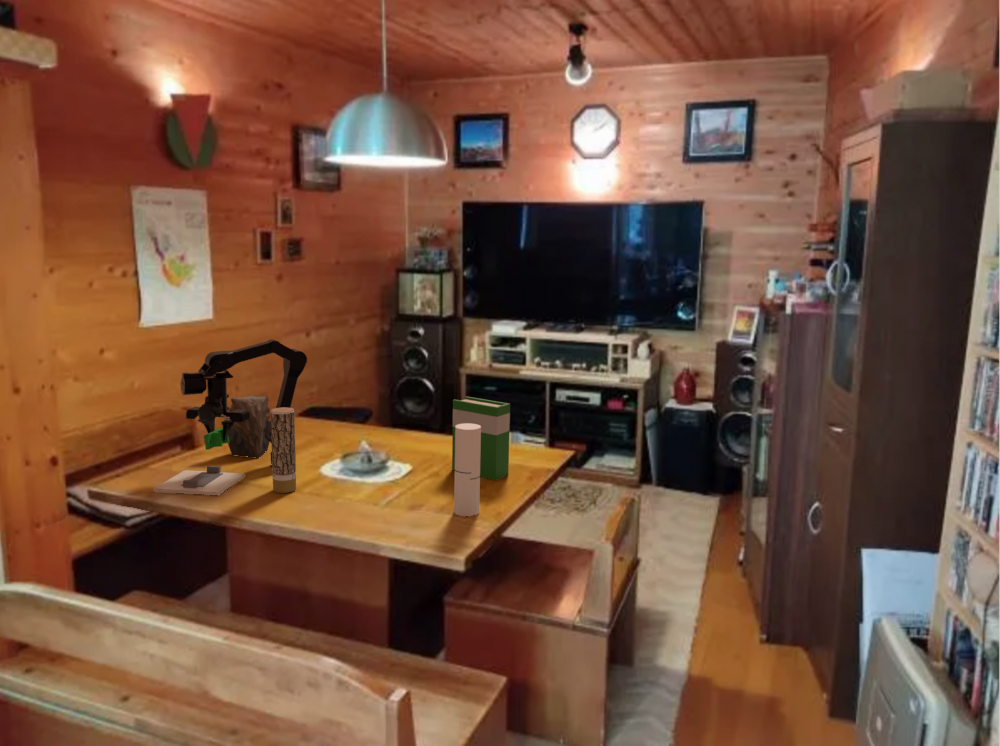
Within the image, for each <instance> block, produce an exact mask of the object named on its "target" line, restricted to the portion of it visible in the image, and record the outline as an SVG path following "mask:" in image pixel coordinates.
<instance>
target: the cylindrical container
mask: <svg viewBox="0 0 1000 746" xmlns="http://www.w3.org/2000/svg"><path fill="white" fill-rule="evenodd" d="M480 451H481V426H480V425H478V424H471V423H464V424H458V425H456V426H455V471H454V488H453V489H454V490H453V492H454V497H453V500H454V501H453V502H454V503H453V506H454V507H453V513H454V514H455V515H456V516H459V517H466V516H468V517H474V516H473V515H475V516H477V515H479V513H480V500H481V499H480V495H481V493H480V492H481V489H480V487H481V477H480Z"/></svg>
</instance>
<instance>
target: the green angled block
mask: <svg viewBox="0 0 1000 746" xmlns="http://www.w3.org/2000/svg"><path fill="white" fill-rule="evenodd" d="M203 441H204V445H205V446H204V447H205V450H206V451H207V450H211V449H213V448H219V447H223V446H224V445H225V444H228V443H229V436H228V437H227V439H226V441H223V426H222V427H219V428H217V429H215V431H213V432H211V433H208V432H207V433H206V434H204V435H203Z"/></svg>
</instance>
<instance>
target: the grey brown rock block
mask: <svg viewBox="0 0 1000 746" xmlns="http://www.w3.org/2000/svg"><path fill="white" fill-rule="evenodd" d="M269 398H270V397H269V396H268V395H265V396H264V395H263V396H262V395H256V394H255V395H253V394H252V395H248V396H245V397H244V396H243V397H232V398H230V401H231V406H230V407H229V410H228V412H232V411H235V410H237V409H241V410H248V412H249V414H250V418H249V419H247V420H245V421H243V422H234V424H233V425H232V427H231V429H230V432H229V434H228V436H229V443H227V445H228V448H229V451H230V455H231V454H232V455H238V456H237V457H240V456H248V457H256V458H255V459H260V458H262V456H263V455H264V453H265V454H266V452H268V451H267V450H269V445H270V442H269V441H268V440H267V439H266V437H265V432H264V431H263V430H264V429H265V427H266V420H269V421H270V420H271V408H270V406H269ZM265 451H266V452H265ZM232 455H231V456H232ZM248 457H247V458H248ZM259 457H260V458H259Z"/></svg>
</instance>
